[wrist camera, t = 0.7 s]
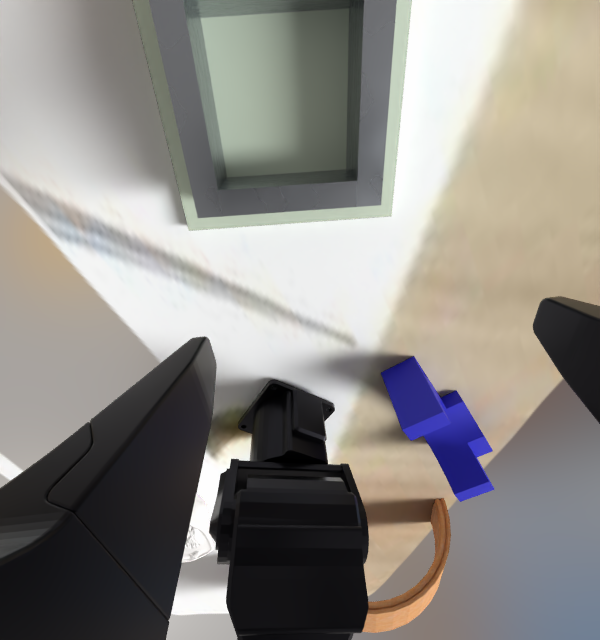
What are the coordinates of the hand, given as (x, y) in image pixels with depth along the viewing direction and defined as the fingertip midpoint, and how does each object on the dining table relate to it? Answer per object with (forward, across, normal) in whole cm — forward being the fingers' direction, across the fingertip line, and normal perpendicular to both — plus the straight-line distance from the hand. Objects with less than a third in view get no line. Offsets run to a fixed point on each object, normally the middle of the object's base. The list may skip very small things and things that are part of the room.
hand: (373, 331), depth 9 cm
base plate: (+13, +2, -6) cm, 14 cm away
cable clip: (+14, -9, +18) cm, 24 cm away
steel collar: (+13, +2, -6) cm, 14 cm away
